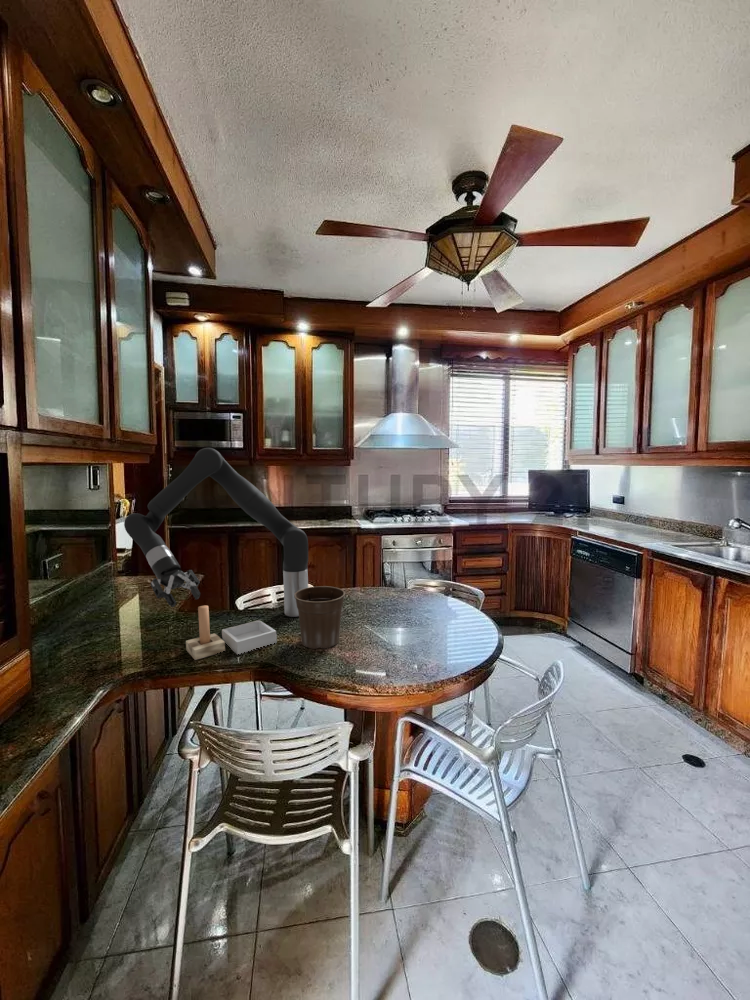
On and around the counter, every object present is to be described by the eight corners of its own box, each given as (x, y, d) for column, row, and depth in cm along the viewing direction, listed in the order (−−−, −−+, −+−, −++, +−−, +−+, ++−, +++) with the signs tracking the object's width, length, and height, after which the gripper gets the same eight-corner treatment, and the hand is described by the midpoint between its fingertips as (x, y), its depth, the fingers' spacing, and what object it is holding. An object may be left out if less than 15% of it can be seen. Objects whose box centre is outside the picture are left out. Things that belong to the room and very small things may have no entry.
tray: (259, 631, 150) (259, 619, 149) (276, 643, 139) (276, 631, 139) (222, 641, 141) (221, 629, 141) (237, 654, 131) (237, 642, 131)
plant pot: (355, 637, 143) (354, 590, 141) (326, 657, 129) (324, 604, 128) (316, 628, 151) (315, 583, 150) (285, 645, 137) (283, 596, 136)
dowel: (208, 647, 137) (206, 604, 135) (212, 650, 134) (209, 607, 133) (199, 650, 135) (196, 606, 134) (202, 653, 133) (199, 609, 131)
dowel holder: (215, 642, 141) (214, 633, 141) (225, 651, 134) (224, 641, 134) (186, 650, 135) (185, 640, 135) (195, 660, 128) (194, 650, 128)
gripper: (146, 559, 135) (170, 601, 130) (186, 551, 147) (210, 588, 142) (137, 574, 138) (161, 615, 133) (178, 564, 150) (201, 601, 145)
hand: (186, 601), depth 138 cm, fingers open, 8 cm apart
